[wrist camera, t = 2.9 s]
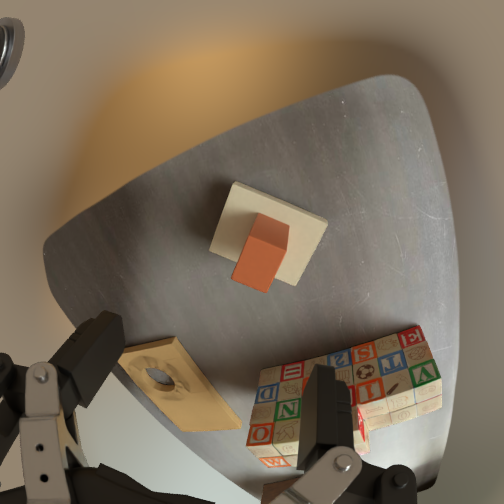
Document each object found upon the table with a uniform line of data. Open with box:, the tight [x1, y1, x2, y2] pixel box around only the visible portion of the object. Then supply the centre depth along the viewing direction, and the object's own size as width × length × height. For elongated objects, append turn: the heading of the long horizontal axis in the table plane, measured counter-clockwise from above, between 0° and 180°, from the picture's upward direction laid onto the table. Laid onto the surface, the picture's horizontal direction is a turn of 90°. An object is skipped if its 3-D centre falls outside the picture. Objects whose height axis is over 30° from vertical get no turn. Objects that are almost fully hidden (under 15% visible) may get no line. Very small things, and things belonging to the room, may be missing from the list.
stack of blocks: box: [246, 325, 442, 468], centre depth 30 cm, size 21×6×12 cm, turn 116°
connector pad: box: [209, 181, 328, 293], centre depth 26 cm, size 9×7×8 cm
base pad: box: [118, 337, 242, 432], centre depth 42 cm, size 20×12×2 cm, turn 26°
